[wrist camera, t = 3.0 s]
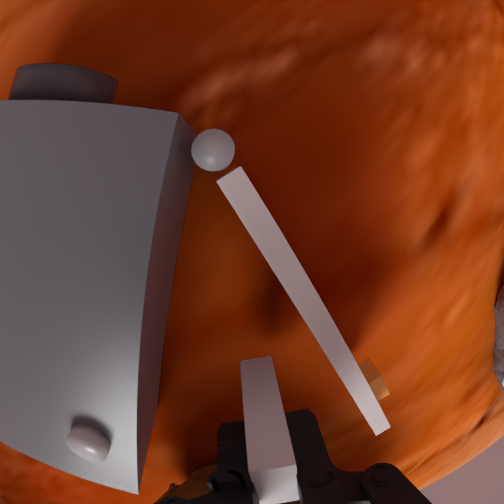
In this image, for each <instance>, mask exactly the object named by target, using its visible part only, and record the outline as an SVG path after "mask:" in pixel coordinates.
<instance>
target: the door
mask: <svg viewBox="0 0 504 504" xmlns="http://www.w3.org/2000/svg"><path fill="white" fill-rule="evenodd" d="M191 152H192V157H193V159H194V161H195V163H196V164H197V165H198V166H199V167H200V168H202V169H204V170H207V171H221V170H224V169H226V168H227V167H228V166H229V165H230V163H231V161H232V159H233V157H234V154H235V145H234V142H233V140H232V138H231V137H230V136H229V135H228V134H227V133H226V132H224V131H222V130H219V129H208V130H205V131H203V132H201V133H200V134H199V135H198V136H197V137H196V138H195V140H194V142H193V144H192V150H191ZM216 182H217V184H218V185H219V187H220V188H221V190H222V191H223V193H224V195H225V196H226V198H227V199H228V201H229V202H230V204H231V205H232V207H233V209H234V210H235V212H236V213H237V215H238V216H239V218H240V220H241V221H242V223H243V224H244V226H245V227H246V229H247V231H248V232H249V234H250V235H251V237H252V238H253V240H254V242H255V243H256V245H257V246H258V248H259V249H260V251H261V253H262V254H263V256H264V257H265V259H266V260H267V262H268V264H269V265H270V267H271V268H272V270H273V271H274V273H275V275H276V276H277V278H278V279H279V281H280V283H281V284H282V286H283V287H284V289H285V290H286V292H287V294H288V295H289V297H290V298H291V300H292V302H293V303H294V305H295V306H296V308H297V310H298V311H299V313H300V314H301V316H302V317H303V319H304V321H305V322H306V324H307V325H308V327H309V329H310V330H311V332H312V333H313V335H314V337H315V338H316V340H317V341H318V343H319V345H320V346H321V348H322V349H323V351H324V353H325V354H326V356H327V357H328V359H329V361H330V362H331V364H332V365H333V367H334V369H335V370H336V372H337V373H338V375H339V377H340V378H341V380H342V381H343V383H344V385H345V386H346V388H347V390H348V391H349V393H350V394H351V396H352V398H353V399H354V401H355V402H356V404H357V406H358V407H359V409H360V411H361V412H362V414H363V415H364V417H365V419H366V420H367V422H368V423H369V425H370V427H371V428H372V430H373V432H374V433H375V435H376V436H377V435H378V434H380V433H382V432H384V431H385V430H387V429H388V428H390V425H389V423H388V421H387V419H386V417H385V415H384V413H383V411H382V409H381V407H380V405H379V404H378V402H377V401H379V400H381V399H382V398H384V397H385V396H387V395H389V392H388V390H387V387H386V385H385V383H384V381H383V379H382V377H381V375H380V374H379V372H378V371H377V369H376V368H375V367H374V365H373V364H372V362H371V361H370V359H369V358H368V359H367V360H365V361H364V362H362V363H360V364H359V365H358V364H357V363H356V361H355V359H354V357H353V355H352V353H351V352H350V350H349V348H348V346H347V344H346V343H345V341H344V339H343V337H342V335H341V334H340V332H339V330H338V328H337V327H336V325H335V323H334V321H333V319H332V318H331V316H330V314H329V312H328V311H327V309H326V307H325V305H324V304H323V302H322V300H321V298H320V297H319V295H318V293H317V291H316V290H315V288H314V286H313V285H312V283H311V281H310V279H309V278H308V276H307V274H306V273H305V271H304V269H303V267H302V266H301V264H300V262H299V261H298V259H297V257H296V256H295V254H294V252H293V250H292V249H291V247H290V245H289V244H288V242H287V240H286V239H285V237H284V235H283V234H282V232H281V230H280V229H279V227H278V225H277V224H276V222H275V221H274V219H273V217H272V216H271V214H270V212H269V211H268V209H267V207H266V206H265V204H264V203H263V201H262V199H261V198H260V196H259V194H258V193H257V191H256V190H255V188H254V186H253V185H252V183H251V182H250V180H249V178H248V177H247V175H246V174H245V172H244V170H243V169H242V167H241V166H240V167H236V168H234V169H233V170H231V171H229V172H228V173H226V174H225V175H223V176H221V177H220V178H219V179H218V180H217V181H216Z"/></svg>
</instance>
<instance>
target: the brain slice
mask: <svg viewBox="0 0 504 504" xmlns="http://www.w3.org/2000/svg"><path fill="white" fill-rule="evenodd" d="M494 312H495V322H496V325H495V344H494V374H495V376H496V377H497V380H498V383H499V385H500V387H501V389H502V391H503V393H504V284H503V286H502V288H501V289H500V291H499V293H498V297H497V301H496V304H495V307H494Z"/></svg>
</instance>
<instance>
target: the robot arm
mask: <svg viewBox="0 0 504 504" xmlns="http://www.w3.org/2000/svg"><path fill="white" fill-rule="evenodd" d="M240 369H241V383H242V396H243V410H244V421H236V422H228V423H222V425H221V427H220V428H219V430H218V432H217V470H215V471H213V472H212V473H211V475H210V476H209V477H208V480H207V484H208V486H209V488H210V490H211V491H210V492H208V493H207V494H205V495H203V496H200V497H197V498H194V499H190V500H187V499H184V498H182V497H169V498H166V499H164V500H163V501H161V502H160V503H159V504H279V503H285V502H291V501H297V500H300V504H432V503H431V502H430V501H429V500H428V499H427V498H426V497H425V496H424V495H423V494H422V493H421V492H420V491H419V490H418V489H417V488H416V487H415V486H414V485H413V484H412V483H411V482H410V481H409V480H408V479H407V478H406V477H405V476H404V475H403V474H402V472H401V471H400V470H399V469H398V468H396V467H395V466H394V465H392V464H388V463H377V464H375V465H372V466H370V467H369V468H368V469H366V470H365V471H363V472H347V471H343V470H340V469H338V468H336V467H335V466H334V465H333V464H332V463H331V461H330V458H329V455H328V452H327V449H326V446H325V444H324V441H323V438H322V435H321V432H320V429H319V427H318V423H317V420H316V417H315V415H314V414H313V413H311V412H310V411H309V410H308V409H303V410H298V411H294V412H288V413H284V409H283V405H282V401H281V396H280V392H279V388H278V383H277V379H276V374H275V370H274V366H273V361H272V357H271V356H266V357H260V358H254V359H248V360H241V361H240Z"/></svg>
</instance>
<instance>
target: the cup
mask: <svg viewBox="0 0 504 504" xmlns="http://www.w3.org/2000/svg"><path fill="white" fill-rule="evenodd" d="M215 470H217V464H213V465H209V466H204V467H201V468H198V469H196V470H194V471H193V472H192V473H191V475H190V477H189V479H188V480H187V481H185V482H183V483H182V484H181V485H175V483H172V484H170V487H169V490H168V491H167V492H166V493H165V494H164V495H163V496H162V497H161V498H160V499H159V500H157V501H156V502H155V503H153V504H159V503H160V502H161V501H163V500H164V499H166V498H169V497H182V498H184V499H187V500H190V499H194V498H197V497H200V496H203V495H205V494H207V493H208V492H210V491H211V490H210V488H209V486H208V484H207V480H208V477H209V476H210V475H211V473H212V472H213V471H215ZM279 504H300V500H297V501H291V502H285V503H279Z"/></svg>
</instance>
